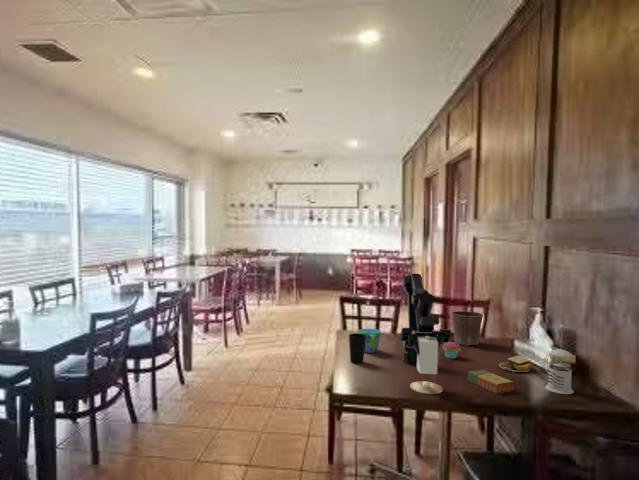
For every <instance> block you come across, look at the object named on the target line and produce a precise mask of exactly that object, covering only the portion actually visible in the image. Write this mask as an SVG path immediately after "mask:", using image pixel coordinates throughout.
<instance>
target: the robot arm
mask: <svg viewBox="0 0 639 480" xmlns="http://www.w3.org/2000/svg"><path fill="white" fill-rule="evenodd" d="M402 288H403V291H404V293H405V294H406V296H407V310H408V311H407V313H408V314H407V317H408V327H402V328H401V331H400V341H401V342H402V348H403V350H404V352H403V359H402V362H404V363H406V364H408V365H417V354H418V355H419V346H418V337H425V336H430V338H435V339H436V340H437V341H438V352H439V350H440V346H441V345H443V344H444V343H448V342H449V341H450V342H451V338H452V331H451V330H450V329H449V328H447V329H446V328H440V329H439V331H438V332H435V331H434V330H435V326H437V325H440V317H439V315H433V316H431V312H432V310H433V306H434V303H435V297H434V296H433V294H431V293H429V290H426V289H425V288H424V285H423V277H422V274H421V273H409V274H408V275H405V276H404V277H403V279H402Z"/></svg>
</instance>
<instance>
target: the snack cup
mask: <svg viewBox="0 0 639 480" xmlns="http://www.w3.org/2000/svg"><path fill="white" fill-rule="evenodd" d="M358 334H364V335H366V342H365V350H364V353H366V354H367V353H368V354H374V353H377V352H378V349H379V343H380V337H381V335H382V332H381V330H379V329H377V328H361V329H359V331H358Z"/></svg>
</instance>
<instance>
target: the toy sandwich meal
mask: <svg viewBox="0 0 639 480" xmlns="http://www.w3.org/2000/svg"><path fill="white" fill-rule="evenodd" d="M507 364H508V365H507ZM498 366H499V368H500V369H501V368H502V370H503V369H505V370H508V371H507V372H509V371H512V372H511V373H514V372H526V373H528V372H529V371H530V370H531V359H529V358H528V357H525V356H521V355H514V356H512V357H509V358H507V362H500V363H499V364H498ZM505 370H504V371H505ZM516 370H518V371H516Z"/></svg>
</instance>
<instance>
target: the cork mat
mask: <svg viewBox="0 0 639 480" xmlns="http://www.w3.org/2000/svg"><path fill="white" fill-rule="evenodd" d="M423 382H424V381H423V380H422V381H421V380H420V381H419V380H418V381H414V382H411V383H410V385H409V388H410V389H411V390H412V391H414V392H416V393H419V394H423V395H437V394H441V393H442V392H443V390H444V389H443V386H441V385H440V384H437V383H435V382H430V381H429V382H430V388H424V387H423Z"/></svg>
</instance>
